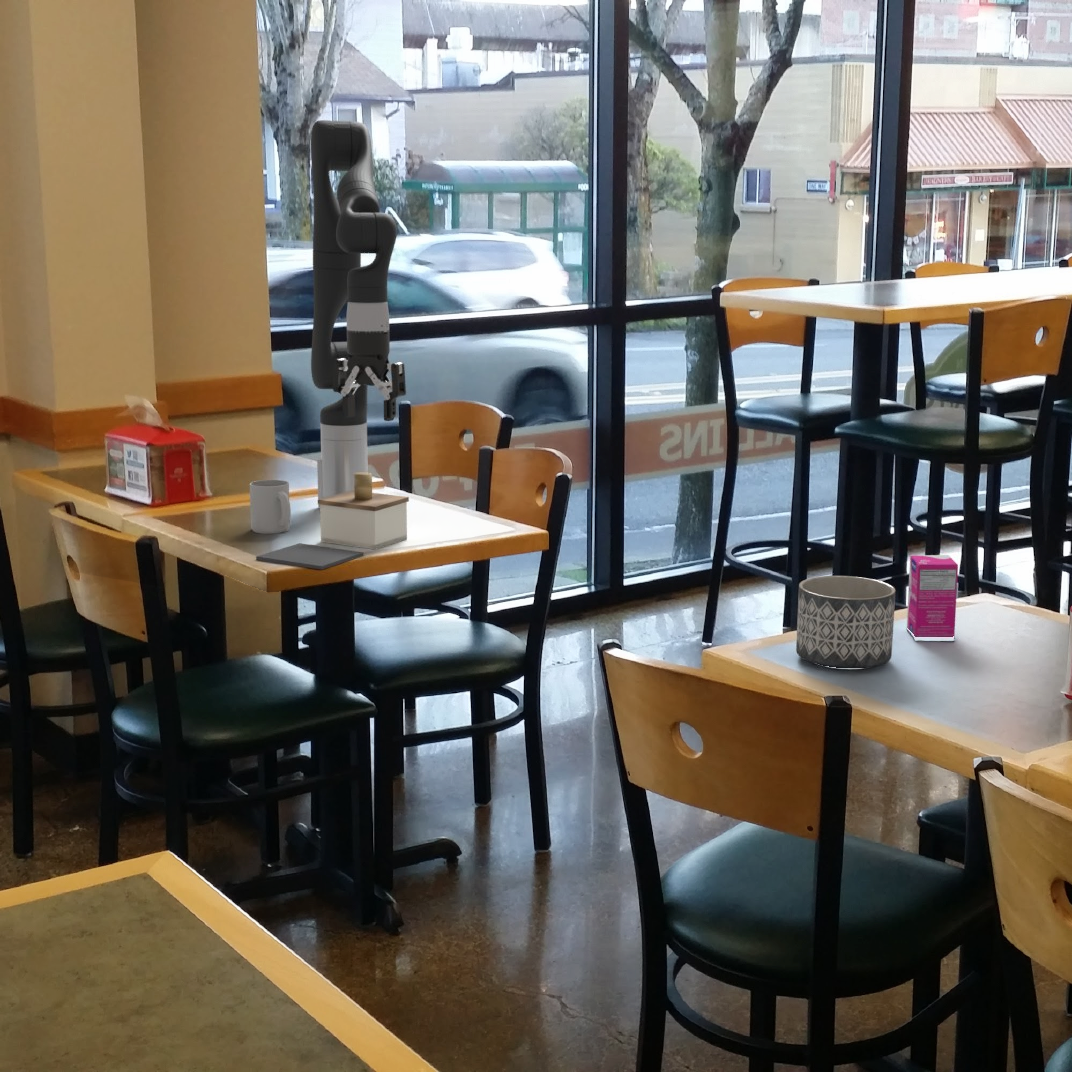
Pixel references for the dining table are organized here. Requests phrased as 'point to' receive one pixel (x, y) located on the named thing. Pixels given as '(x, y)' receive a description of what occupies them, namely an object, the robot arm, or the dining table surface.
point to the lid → (363, 496)
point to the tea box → (363, 526)
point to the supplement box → (932, 595)
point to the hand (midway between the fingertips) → (369, 418)
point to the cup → (270, 506)
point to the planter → (845, 621)
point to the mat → (310, 556)
